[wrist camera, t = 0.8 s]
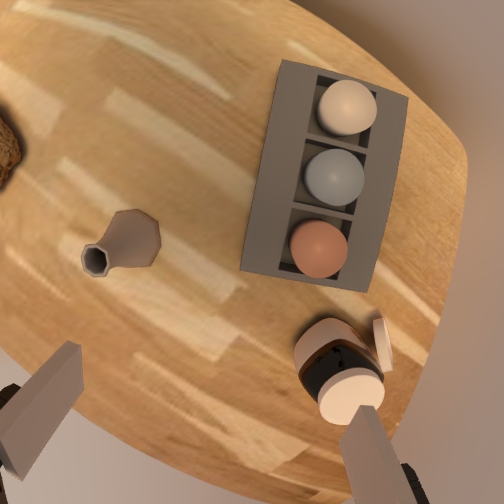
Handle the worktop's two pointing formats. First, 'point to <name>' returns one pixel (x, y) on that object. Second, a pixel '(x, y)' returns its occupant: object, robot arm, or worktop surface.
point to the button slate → (334, 177)
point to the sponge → (7, 151)
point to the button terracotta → (317, 248)
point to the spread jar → (342, 368)
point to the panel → (293, 189)
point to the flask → (123, 244)
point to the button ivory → (346, 109)
